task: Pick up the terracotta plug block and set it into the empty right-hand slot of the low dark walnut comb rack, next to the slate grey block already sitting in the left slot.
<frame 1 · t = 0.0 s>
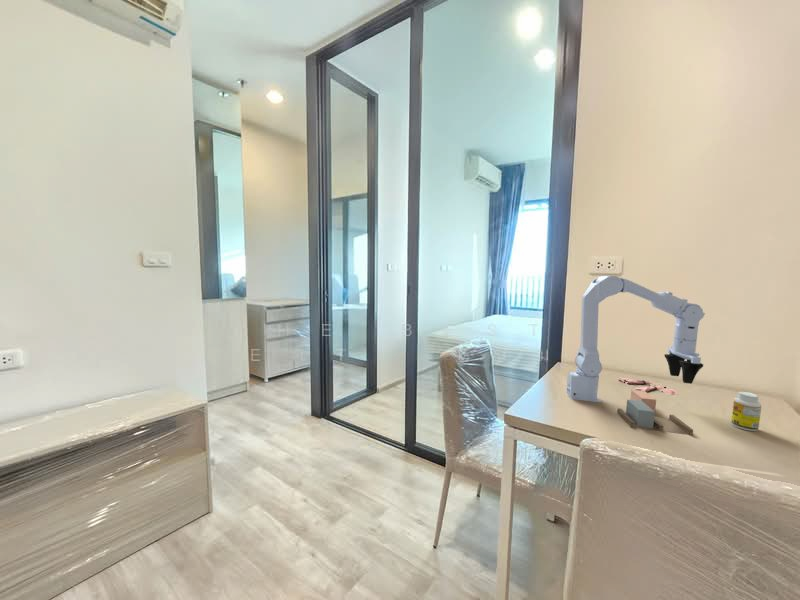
hand: (680, 379, 109), 10 cm above the table, tool pointing down, fingers open, 7 cm apart
slate block: (638, 421, 98), resting on comb rack
supplement bottle: (744, 428, 97), on the table
comb rack: (652, 424, 97), on the table
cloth: (640, 388, 131), on the table
plug block: (641, 409, 109), on the table
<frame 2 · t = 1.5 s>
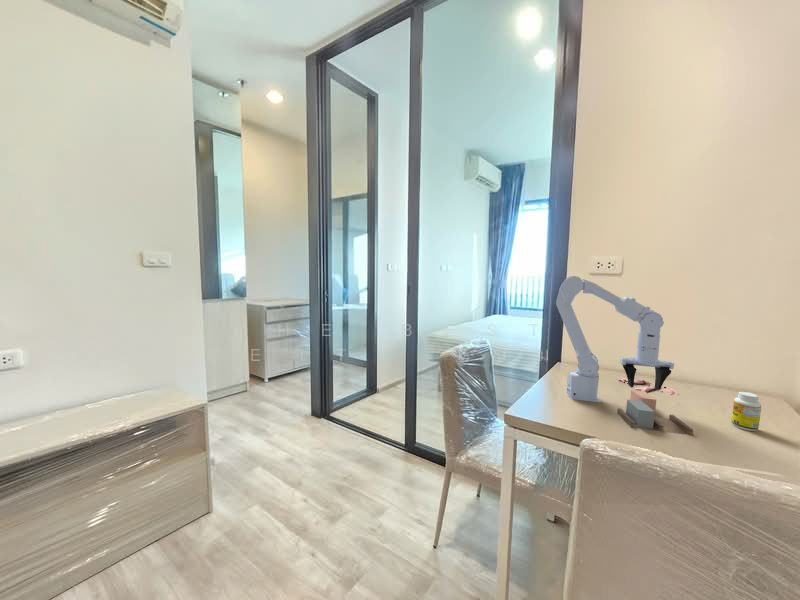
hand: (644, 387, 108), 7 cm above the table, tool pointing down, fingers open, 7 cm apart
nothing on the table moved.
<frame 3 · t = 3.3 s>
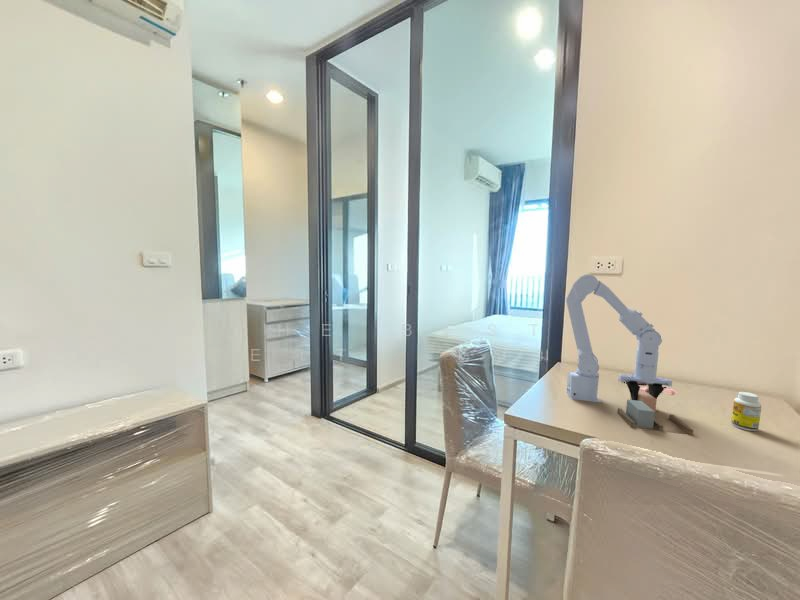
hand: (642, 404, 109), 1 cm above the table, tool pointing down, fingers closed on plug block, 4 cm apart
plug block: (641, 408, 109), on the table, touching gripper
everything else where it was.
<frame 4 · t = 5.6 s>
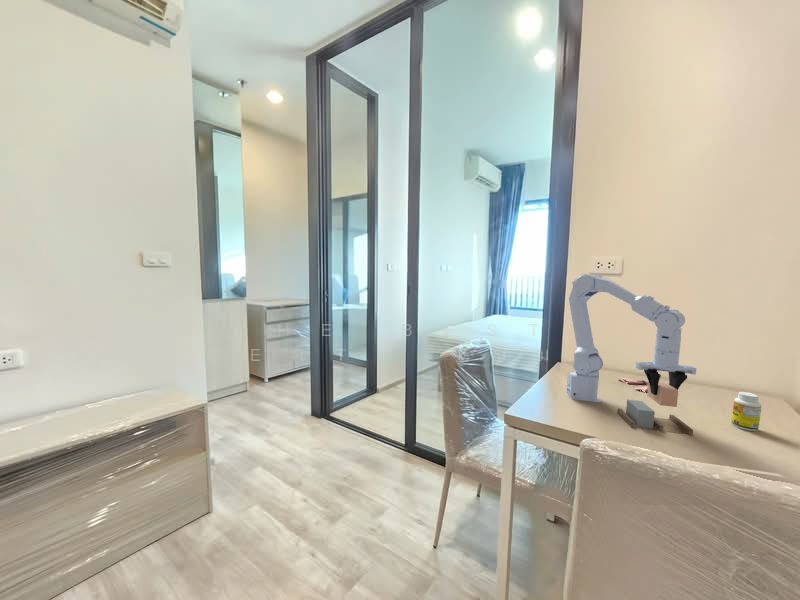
hand: (662, 394, 98), 8 cm above the table, tool pointing down, fingers closed on plug block, 4 cm apart
plug block: (661, 401, 99), point 6 cm above the table, touching gripper
everything else where it was.
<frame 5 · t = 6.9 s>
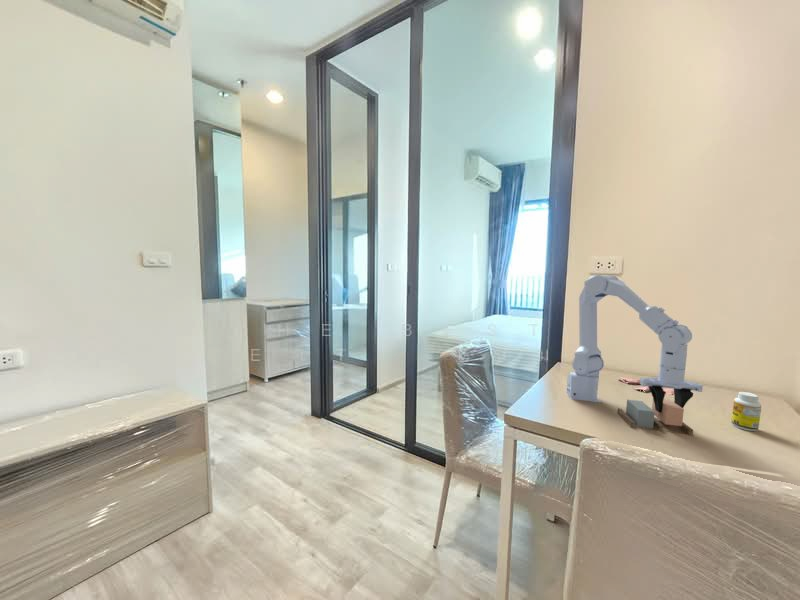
hand: (667, 412, 96), 4 cm above the table, tool pointing down, fingers closed on plug block, 4 cm apart
plug block: (666, 419, 96), point 2 cm above the table, touching gripper
everything else where it was.
when the fingers open (4 cm above the table, at t = 7.9 s): plug block drops 1 cm, resting on comb rack.
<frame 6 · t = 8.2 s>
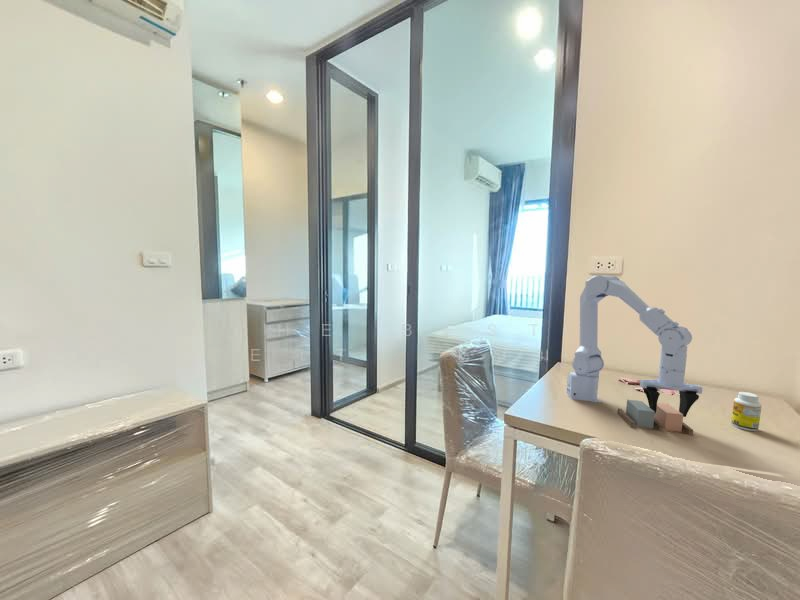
hand: (667, 413, 96), 4 cm above the table, tool pointing down, fingers open, 7 cm apart
plug block: (665, 424, 96), resting on comb rack
everything else where it was.
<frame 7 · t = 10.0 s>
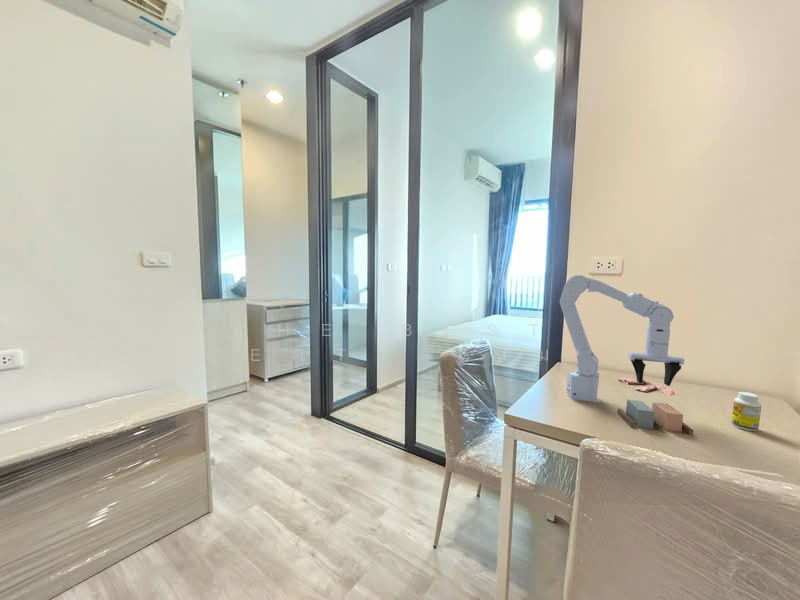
hand: (653, 383, 106), 9 cm above the table, tool pointing down, fingers open, 7 cm apart
nothing on the table moved.
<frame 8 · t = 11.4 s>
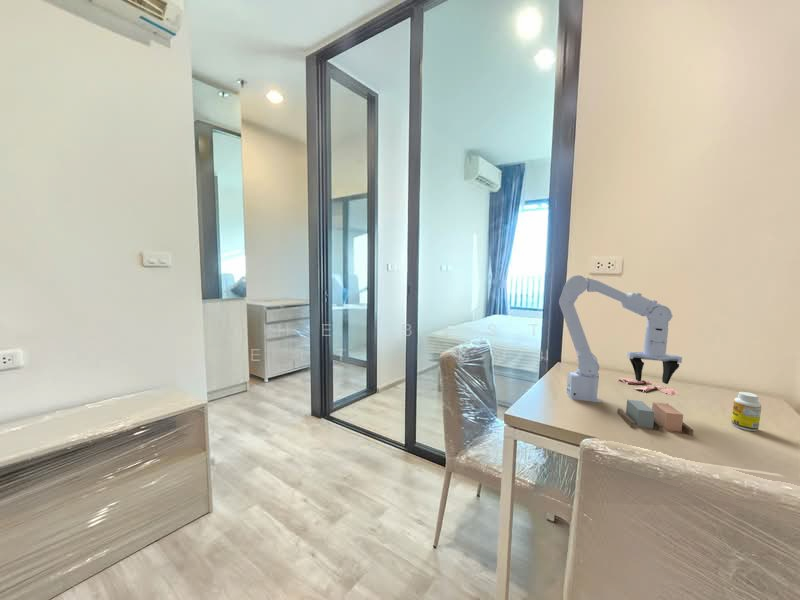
hand: (651, 381, 107), 9 cm above the table, tool pointing down, fingers open, 7 cm apart
nothing on the table moved.
at the end: plug block 0.3 cm from the target spot on the comb rack, point 0.5 cm above the comb rack's base; plug block tilted 0°; the gripper is holding nothing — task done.
